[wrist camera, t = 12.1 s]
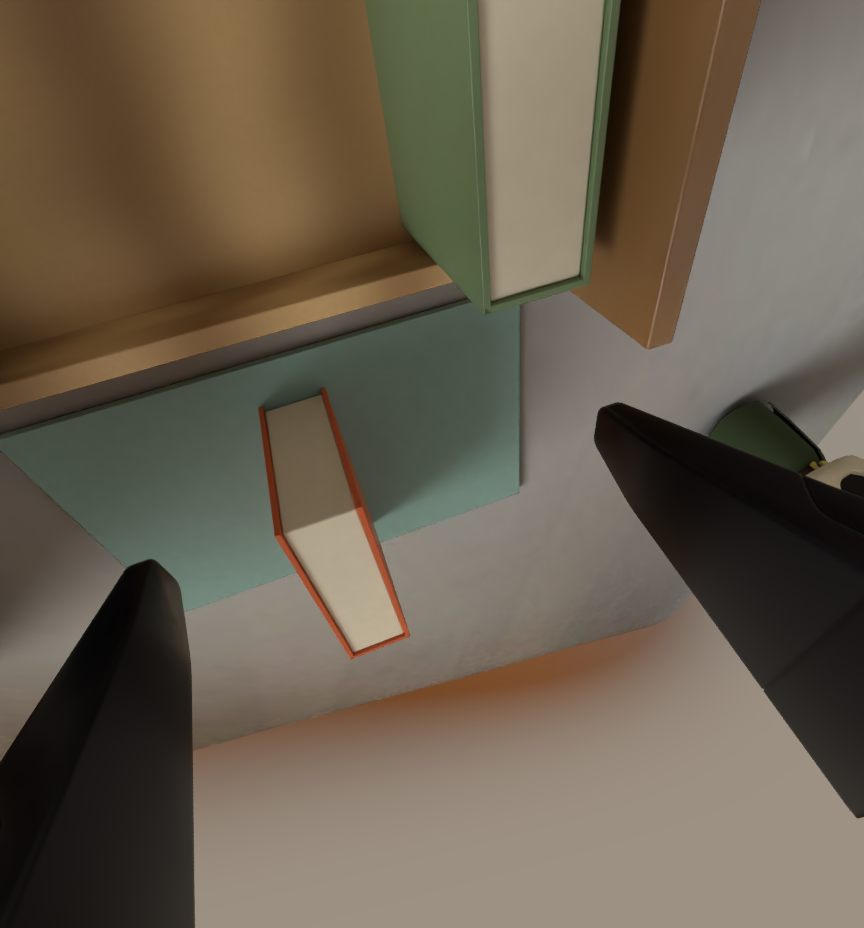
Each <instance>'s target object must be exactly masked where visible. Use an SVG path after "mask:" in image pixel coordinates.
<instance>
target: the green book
mask: <svg viewBox="0 0 864 928" xmlns="http://www.w3.org/2000/svg"><path fill="white" fill-rule="evenodd" d="M620 4H621V0H365V6H366V12H367V19H368V25H369V31H370V37H371V43H372V49H373V55H374V61H375V67H376V73H377V79H378V85H379V91H380V97H381V103H382V109H383V115H384V122H385V128H386V134H387V140H388V146H389V152H390V158H391V164H392V170H393V176H394V182H395V188H396V194H397V200H398V206H399V212H400V218H401V225H402V226H403V227H404V228H405V229H406V231H407V232H408V233H409V234H410V235H411V236H412V237H413V238H414V239H415V240H416V241H417V243H418V244H419V245H420V246H421V247H422V248H423V249H424V250H425V251H426V252H427V253H428V254H429V256H430V257H431V258H432V259H433V260H434V261H435V262H436V263H437V264H438V265H439V266H440V268H441V269H442V270H443V271H444V272H445V273H446V274H447V275H448V276H449V277H450V278H451V280H452V281H453V282H454V283H455V284H456V285H457V286H458V287H459V288H460V289H461V290H462V292H463V293H464V294H465V295H466V296H467V297H468V298H469V299H470V300H471V301H472V302H473V303H474V305H475V306H476V307H477V308H478V309H479V310H480V311H481V312H482V313H483V314H484V315H487V314H491V313H494V312H497V311H501V310H504V309H508V308H511V307H514V306H518V305H521V304H524V303H528V302H531V301H534V300H538V299H541V298H545V297H548V296H551V295H555V294H558V293H561V292H565V291H568V290H572V289H575V288H578V287H582V286H585V285H588V284H590V277H591V268H592V258H593V249H594V240H595V231H596V222H597V213H598V204H599V195H600V186H601V177H602V168H603V159H604V149H605V140H606V131H607V122H608V113H609V104H610V95H611V86H612V77H613V68H614V59H615V50H616V41H617V31H618V22H619V13H620Z"/></svg>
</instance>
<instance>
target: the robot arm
mask: <svg viewBox="0 0 864 928" xmlns="http://www.w3.org/2000/svg"><path fill="white" fill-rule="evenodd" d="M594 441H595V444H596V447H597V449H598V451H599V452H600V454H601V456H602V458H603V460H604V461H605V463H606V465H607V467H608V468H609V470H610V472H611V474H612V476H613V477H614V479H615V481H616V483H617V484H618V486H619V488H620V490H621V492H622V493H623V495H624V497H625V498H626V500H627V502H628V503H629V505H630V507H631V508H632V509H633V511H634V512H635V514H636V515H637V517H638V518H639V519H640V521H641V522H642V523H643V525H644V526H645V528H646V529H647V530H648V532H649V533H650V535H651V536H652V537H653V539H654V540H655V541H656V543H657V544H658V546H659V547H660V548H661V550H662V551H663V552H664V554H665V555H666V557H667V558H668V559H669V561H670V562H671V564H672V565H673V566H674V568H675V569H676V570H677V572H678V573H679V575H680V576H681V577H682V579H683V580H684V581H685V583H686V584H687V586H688V587H689V588H690V590H691V591H692V593H693V594H694V595H695V597H696V598H697V599H698V601H699V602H700V603H701V605H702V606H703V608H704V609H705V610H706V612H707V613H708V615H709V616H710V617H711V619H712V620H713V622H714V623H715V624H716V626H717V627H718V628H719V630H720V631H721V633H722V634H723V635H724V637H725V638H726V639H727V641H728V642H729V644H730V645H731V646H732V648H733V649H734V651H735V652H736V653H737V655H738V656H739V657H740V659H741V660H742V661H743V663H744V664H745V666H746V667H747V668H748V670H749V671H750V673H751V674H752V675H753V677H754V678H755V679H756V681H757V682H758V684H759V685H760V686H761V688H763V689H764V692H765V694H766V695H767V696H768V698H769V699H770V701H771V702H772V703H773V705H774V706H775V708H776V709H777V710H778V712H779V713H780V715H781V716H782V717H783V719H784V720H785V721H786V723H787V724H788V725H789V727H790V728H791V729H792V731H793V732H794V734H795V735H796V737H797V738H798V739H799V741H800V742H801V743H802V745H803V746H804V748H805V749H806V750H807V752H808V753H809V754H810V756H811V757H812V759H813V760H814V761H815V762H816V764H817V766H818V767H819V768H820V770H821V771H822V772H823V774H824V775H825V777H826V778H827V779H828V781H829V782H830V784H831V785H832V786H833V788H834V789H835V790H836V792H837V793H838V795H839V796H840V797H841V799H842V800H843V801H844V803H845V804H846V805H847V807H848V808H849V809H850V811H851V812H852V813H853V814H854V815H855V817H856V818H861V817H864V498H863V497H860V496H857V495H855V494H852V493H849V492H847V491H844V490H841V489H839V488H836V487H833V486H831V485H828V484H826V483H823V482H820V481H818V480H815V479H813V478H810V477H808V476H802V475H801V474H800V473H797V472H795V471H792V470H790V469H787V468H785V467H782V466H780V465H777V464H775V463H772V462H770V461H767V460H765V459H762V458H760V457H757V456H755V455H752V454H750V453H747V452H745V451H742V450H739V449H737V448H734V447H732V446H729V445H727V444H724V443H722V442H719V441H717V440H714V439H712V438H709V437H707V436H704V435H702V434H699V433H697V432H694V431H692V430H689V429H687V428H684V427H681V426H679V425H676V424H674V423H671V422H669V421H666V420H664V419H661V418H659V417H656V416H654V415H651V414H649V413H646V412H644V411H641V410H639V409H636V408H634V407H631V406H629V405H626V404H623V403H619V402H617V403H613V404H610V405H607V406H604V407H602V408H600V410H599V411H598V415H597V421H596V428H595V434H594ZM193 824H194V823H193V745H192V675H191V660H190V651H189V644H188V637H187V630H186V623H185V616H184V608H183V601H182V594H181V589H180V586H179V584H178V582H177V580H176V579H175V578H174V577H173V576H172V575H171V574H170V573H169V572H168V571H167V570H166V569H165V568H164V567H163V566H162V565H161V564H160V563H159V562H157V561H156V560H154V559H147V560H144V561H141V562H138V563H135V564H132V565H130V566H128V567H127V568H126V570H125V571H124V572H123V574H122V575H121V577H120V579H119V580H118V582H117V583H116V585H115V586H114V588H113V589H112V591H111V592H110V594H109V595H108V597H107V599H106V600H105V602H104V603H103V605H102V606H101V608H100V609H99V611H98V612H97V614H96V615H95V617H94V619H93V620H92V622H91V623H90V625H89V626H88V628H87V629H86V631H85V632H84V634H83V635H82V637H81V639H80V640H79V642H78V643H77V645H76V646H75V648H74V649H73V651H72V652H71V654H70V655H69V657H68V659H67V660H66V662H65V663H64V665H63V666H62V668H61V669H60V671H59V672H58V674H57V675H56V677H55V679H54V680H53V682H52V683H51V685H50V686H49V688H48V689H47V691H46V692H45V694H44V696H43V697H42V699H41V700H40V702H39V703H38V705H37V706H36V708H35V709H34V711H33V712H32V714H31V716H30V717H29V719H28V720H27V722H26V723H25V725H24V726H23V728H22V729H21V731H20V732H19V734H18V736H17V737H16V739H15V740H14V742H13V743H12V745H11V746H10V748H9V749H8V751H7V752H6V754H5V756H4V757H3V759H2V760H1V762H0V928H195V900H194V825H193Z"/></svg>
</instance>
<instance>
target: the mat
mask: <svg viewBox="0 0 864 928" xmlns="http://www.w3.org/2000/svg"><path fill="white" fill-rule="evenodd" d="M519 373H520V305H518V306H514V307H511V308H508V309H504V310H501V311H497V312H494V313H491V314H487V315H484V314H483V313H482V312H481V311H480V310H479V309H478V308H477V307H476V306H475V305H474V303H473V302H472V301H471V300H470V299H466V300H462V301H459V302H455V303H452V304H448V305H445V306H442V307H438V308H435V309H431V310H428V311H424V312H421V313H417V314H414V315H410V316H407V317H404V318H400V319H397V320H393V321H390V322H386V323H383V324H379V325H376V326H373V327H369V328H366V329H362V330H359V331H355V332H352V333H348V334H345V335H341V336H338V337H335V338H331V339H328V340H324V341H321V342H317V343H314V344H310V345H307V346H304V347H300V348H297V349H293V350H290V351H286V352H283V353H279V354H276V355H272V356H269V357H266V358H262V359H259V360H255V361H252V362H248V363H245V364H241V365H238V366H234V367H231V368H228V369H224V370H221V371H217V372H214V373H210V374H207V375H203V376H200V377H197V378H193V379H190V380H186V381H183V382H179V383H176V384H172V385H169V386H165V387H162V388H159V389H155V390H152V391H148V392H145V393H141V394H138V395H134V396H131V397H127V398H124V399H121V400H117V401H114V402H110V403H107V404H103V405H100V406H96V407H93V408H90V409H86V410H83V411H79V412H76V413H72V414H69V415H65V416H62V417H58V418H55V419H52V420H48V421H45V422H41V423H38V424H34V425H31V426H27V427H24V428H21V429H17V430H14V431H10V432H7V433H3V434H0V451H1V452H2V453H3V454H4V455H5V456H7V457H8V458H9V459H10V460H11V461H12V462H13V463H14V464H15V465H16V466H17V467H18V468H19V469H21V470H22V471H23V472H24V473H25V474H26V475H27V476H28V477H29V478H30V479H31V480H32V481H33V482H35V483H36V484H37V485H38V486H39V487H40V488H41V489H42V490H43V491H44V492H45V493H46V494H47V495H49V496H50V497H51V498H52V499H53V500H54V501H55V502H56V503H57V504H58V505H59V506H60V507H61V508H63V509H64V510H65V511H66V512H67V513H68V514H69V515H70V516H71V517H72V518H73V519H74V520H75V521H77V522H78V523H79V524H80V525H81V526H82V527H83V528H84V529H85V530H86V531H87V532H88V533H89V534H90V535H92V536H93V537H94V538H95V539H96V540H97V541H98V542H99V543H100V544H101V545H102V546H103V547H104V548H106V549H107V550H108V551H109V552H110V553H111V554H112V555H113V556H114V557H115V558H116V559H117V560H118V561H120V562H121V563H122V564H123V565H124V566H125V567H126V568H127V567H128V566H130V565H132V564H135V563H138V562H141V561H144V560H147V559H154V560H156V561H157V562H159V563H160V564H161V565H162V566H163V567H164V568H165V569H166V570H167V571H168V572H169V573H170V574H171V575H172V576H173V577H174V578H175V579H176V580H177V582H178V584H179V586H180V589H181V594H182V601H183V608H184V612H187V611H190V610H193V609H196V608H198V607H201V606H204V605H207V604H210V603H212V602H215V601H218V600H221V599H224V598H226V597H229V596H232V595H235V594H238V593H240V592H243V591H246V590H249V589H252V588H254V587H257V586H260V585H263V584H266V583H268V582H271V581H274V580H277V579H280V578H282V577H285V576H288V575H291V574H294V573H296V570H295V568H294V567H293V565H292V564H291V562H290V560H289V559H288V557H287V556H286V554H285V552H284V551H283V549H282V548H281V546H280V544H279V543H278V541H277V539H276V538H275V535H274V527H273V519H272V512H271V504H270V496H269V488H268V480H267V472H266V465H265V457H264V449H263V441H262V433H261V426H260V418H259V410H258V407H261V406H263V408H264V410H265V412H267V411H270V410H273V409H276V408H280V407H283V406H286V405H289V404H293V403H296V402H299V401H302V400H306V399H309V398H312V397H315V396H319V395H322V392H321V388H323V387H325V389H326V392H327V395H328V397H329V400H330V403H331V406H332V409H333V411H334V414H335V417H336V420H337V423H338V425H339V428H340V431H341V434H342V437H343V439H344V442H345V445H346V448H347V450H348V453H349V456H350V459H351V462H352V464H353V467H354V470H355V473H356V476H357V478H358V481H359V484H360V487H361V490H362V492H363V495H364V498H365V501H366V504H367V506H368V509H369V512H370V515H371V518H372V520H373V523H374V526H375V529H376V532H377V535H378V538H379V542H383V541H386V540H389V539H392V538H394V537H397V536H400V535H403V534H406V533H408V532H411V531H414V530H417V529H420V528H422V527H425V526H428V525H431V524H434V523H436V522H439V521H442V520H445V519H448V518H450V517H453V516H456V515H459V514H462V513H464V512H467V511H470V510H473V509H476V508H478V507H481V506H484V505H487V504H490V503H492V502H495V501H498V500H501V499H504V498H506V497H509V496H512V495H515V494H518V493H519ZM322 396H323V395H322Z"/></svg>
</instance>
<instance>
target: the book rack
mask: <svg viewBox="0 0 864 928" xmlns="http://www.w3.org/2000/svg"><path fill="white" fill-rule="evenodd" d="M760 3H761V0H621V4H620V13H619V22H618V31H617V41H616V50H615V59H614V68H613V77H612V86H611V95H610V104H609V113H608V122H607V131H606V140H605V149H604V159H603V168H602V177H601V186H600V195H599V204H598V213H597V222H596V231H595V240H594V249H593V258H592V268H591V277H590V284H588V285H585V286H582V287H578V288H575V289H572V290H570V291H571V292H572V293H574V294H575V295H576V296H578V297H579V298H580V299H582V300H583V301H584V302H585V303H587V304H588V305H589V306H591V307H592V308H593V309H595V310H596V311H597V312H599V313H600V314H601V315H603V316H604V317H605V318H606V319H608V320H609V321H610V322H612V323H613V324H614V325H616V326H617V327H618V328H620V329H621V330H622V331H623V332H625V333H626V334H627V335H629V336H630V337H631V338H633V339H634V340H635V341H637V342H638V343H639V344H641V345H642V346H643V347H644V348H646V349H652V348H655V347H658V346H661V345H664V344H667V343H670V342H672V340H673V337H674V333H675V329H676V325H677V322H678V318H679V314H680V310H681V306H682V302H683V299H684V295H685V291H686V287H687V283H688V279H689V275H690V272H691V268H692V264H693V260H694V256H695V252H696V249H697V245H698V241H699V237H700V233H701V229H702V226H703V222H704V218H705V214H706V210H707V206H708V203H709V199H710V195H711V191H712V187H713V183H714V180H715V176H716V172H717V168H718V164H719V160H720V157H721V153H722V149H723V145H724V141H725V137H726V134H727V130H728V126H729V122H730V118H731V114H732V111H733V107H734V103H735V99H736V95H737V91H738V88H739V84H740V80H741V76H742V72H743V68H744V65H745V61H746V57H747V53H748V49H749V45H750V42H751V38H752V34H753V30H754V26H755V22H756V18H757V15H758V11H759V7H760ZM452 282H453V281H452V280H451V278H450V277H449V276H448V275H447V274H446V273H445V272H444V271H443V270H442V269H441V268H440V266H439V265H438V264H437V263H436V262H435V261H434V260H433V259H432V258H431V257H430V256H429V254H428V253H427V252H426V251H425V250H424V249H423V248H422V247H421V246H420V245H419V244H418V243H417V241H416V240H415V239H414V238H413V237H412V236H411V235H410V234H409V233H408V232H407V231H406V229H405V228H404V227H403V226H402V225H401V218H400V212H399V206H398V200H397V194H396V188H395V182H394V176H393V170H392V164H391V158H390V152H389V146H388V140H387V134H386V128H385V122H384V115H383V109H382V103H381V97H380V91H379V85H378V79H377V73H376V67H375V61H374V55H373V49H372V43H371V37H370V31H369V25H368V19H367V12H366V6H365V0H0V410H3V409H7V408H10V407H14V406H17V405H21V404H25V403H28V402H32V401H35V400H39V399H42V398H46V397H49V396H53V395H56V394H60V393H63V392H67V391H70V390H74V389H77V388H81V387H85V386H88V385H92V384H95V383H99V382H102V381H106V380H109V379H113V378H116V377H120V376H123V375H127V374H130V373H134V372H138V371H141V370H145V369H148V368H152V367H155V366H159V365H162V364H166V363H169V362H173V361H176V360H180V359H183V358H187V357H190V356H194V355H198V354H201V353H205V352H208V351H212V350H215V349H219V348H222V347H226V346H229V345H233V344H236V343H240V342H243V341H247V340H251V339H254V338H258V337H261V336H265V335H268V334H272V333H275V332H279V331H282V330H286V329H289V328H293V327H296V326H300V325H304V324H307V323H311V322H314V321H318V320H321V319H325V318H328V317H332V316H335V315H339V314H342V313H346V312H349V311H353V310H356V309H360V308H364V307H367V306H371V305H374V304H378V303H381V302H385V301H388V300H392V299H395V298H399V297H402V296H406V295H409V294H413V293H417V292H420V291H424V290H427V289H431V288H434V287H438V286H441V285H445V284H448V283H452Z"/></svg>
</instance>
